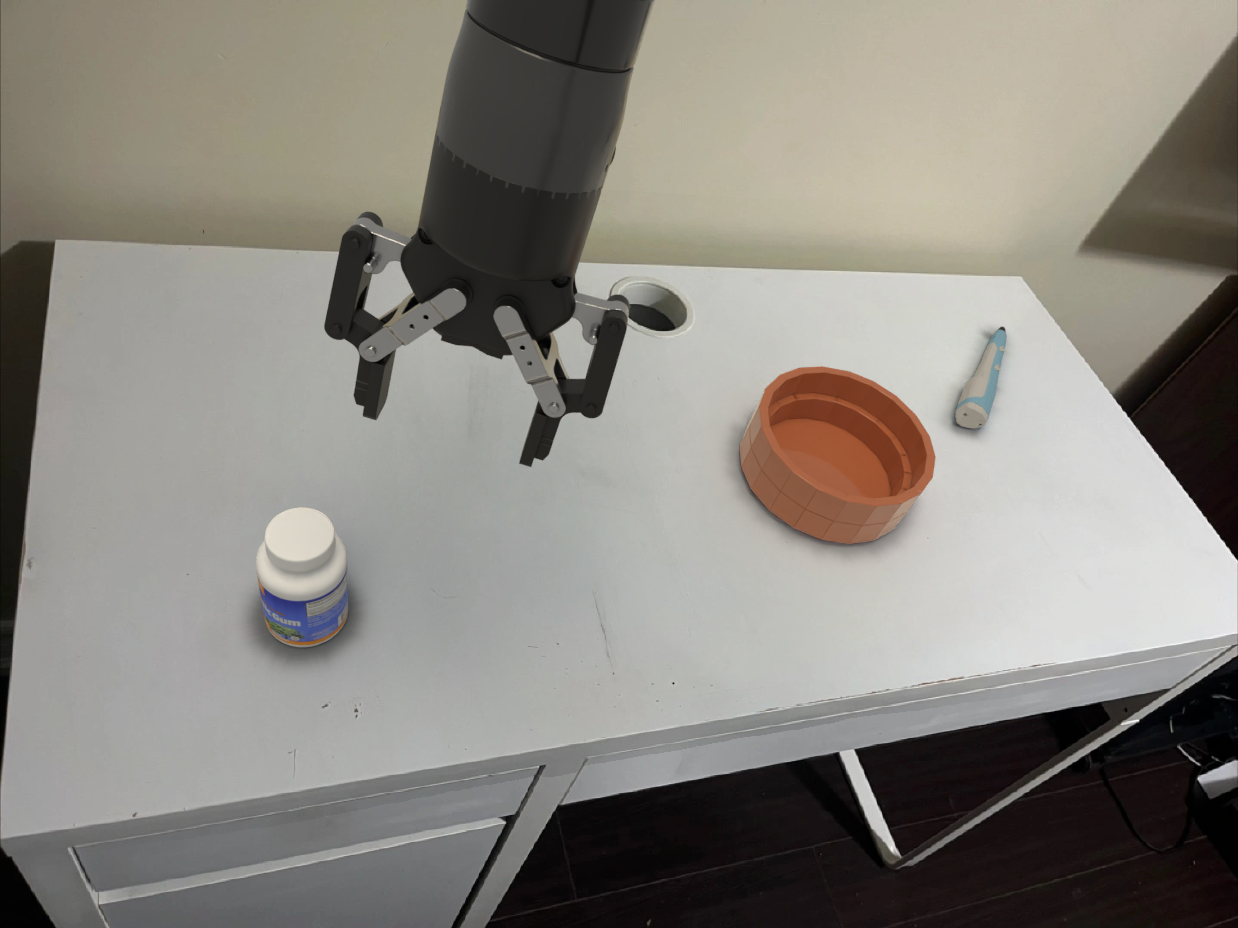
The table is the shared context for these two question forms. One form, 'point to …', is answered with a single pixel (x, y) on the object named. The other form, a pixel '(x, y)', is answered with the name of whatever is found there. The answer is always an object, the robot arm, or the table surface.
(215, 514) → the table surface
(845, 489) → the bowl
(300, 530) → the pill bottle
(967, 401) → the white and blue rod
